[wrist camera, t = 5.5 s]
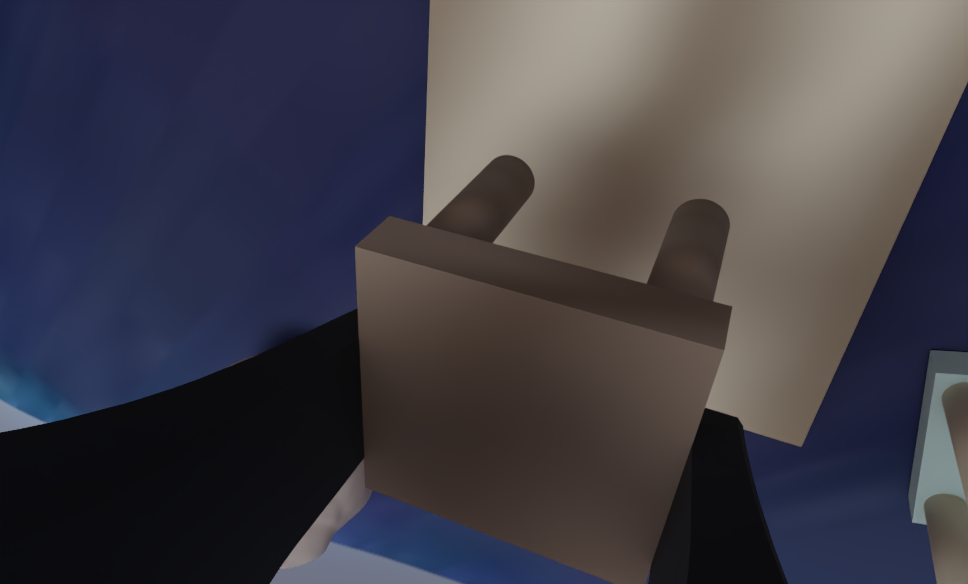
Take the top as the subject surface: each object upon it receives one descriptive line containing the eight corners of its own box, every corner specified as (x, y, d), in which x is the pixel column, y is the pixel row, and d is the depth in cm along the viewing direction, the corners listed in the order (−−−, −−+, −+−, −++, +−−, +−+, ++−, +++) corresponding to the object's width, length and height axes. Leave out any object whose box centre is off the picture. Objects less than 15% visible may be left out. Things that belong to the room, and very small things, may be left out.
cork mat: (1000, -10, 14) (1007, -5, 13) (801, 433, 20) (801, 447, 20) (443, -82, 17) (432, -80, 16) (427, 319, 24) (419, 329, 23)
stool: (752, 198, 12) (724, 350, 8) (683, 412, 15) (641, 594, 11) (478, 137, 13) (354, 246, 10) (464, 344, 16) (365, 487, 12)
